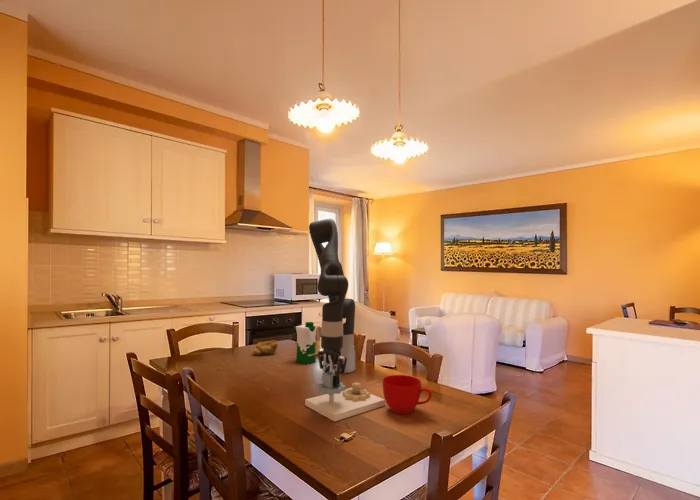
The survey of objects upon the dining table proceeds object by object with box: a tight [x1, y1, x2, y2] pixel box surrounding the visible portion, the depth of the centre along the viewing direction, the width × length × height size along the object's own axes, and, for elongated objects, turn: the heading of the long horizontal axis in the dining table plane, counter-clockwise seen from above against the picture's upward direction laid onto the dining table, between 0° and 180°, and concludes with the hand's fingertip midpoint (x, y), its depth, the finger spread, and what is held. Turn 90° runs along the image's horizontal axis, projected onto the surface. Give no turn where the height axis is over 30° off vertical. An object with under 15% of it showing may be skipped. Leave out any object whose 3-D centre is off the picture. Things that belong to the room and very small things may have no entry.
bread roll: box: [253, 339, 278, 357], centre depth 203 cm, size 13×10×8 cm
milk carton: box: [295, 321, 317, 365], centre depth 187 cm, size 9×9×20 cm
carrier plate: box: [304, 381, 386, 422], centre depth 130 cm, size 22×17×7 cm
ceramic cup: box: [382, 374, 433, 415], centre depth 125 cm, size 13×17×10 cm
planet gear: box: [316, 370, 347, 395], centre depth 127 cm, size 10×10×6 cm
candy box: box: [314, 324, 321, 355], centre depth 205 cm, size 9×4×15 cm, turn 110°
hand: (331, 384), depth 127 cm, fingers closed on planet gear, 4 cm apart
